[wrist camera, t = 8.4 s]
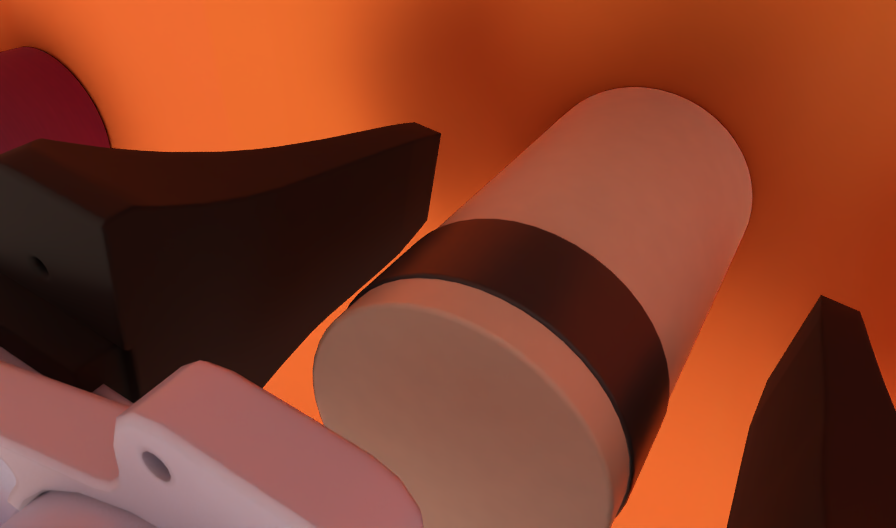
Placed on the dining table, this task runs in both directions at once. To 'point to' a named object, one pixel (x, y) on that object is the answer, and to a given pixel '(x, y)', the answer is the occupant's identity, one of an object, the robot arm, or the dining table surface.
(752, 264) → the dining table surface
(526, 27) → the dining table surface
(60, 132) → the cup
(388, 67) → the dining table surface
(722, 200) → the beige cylinder
